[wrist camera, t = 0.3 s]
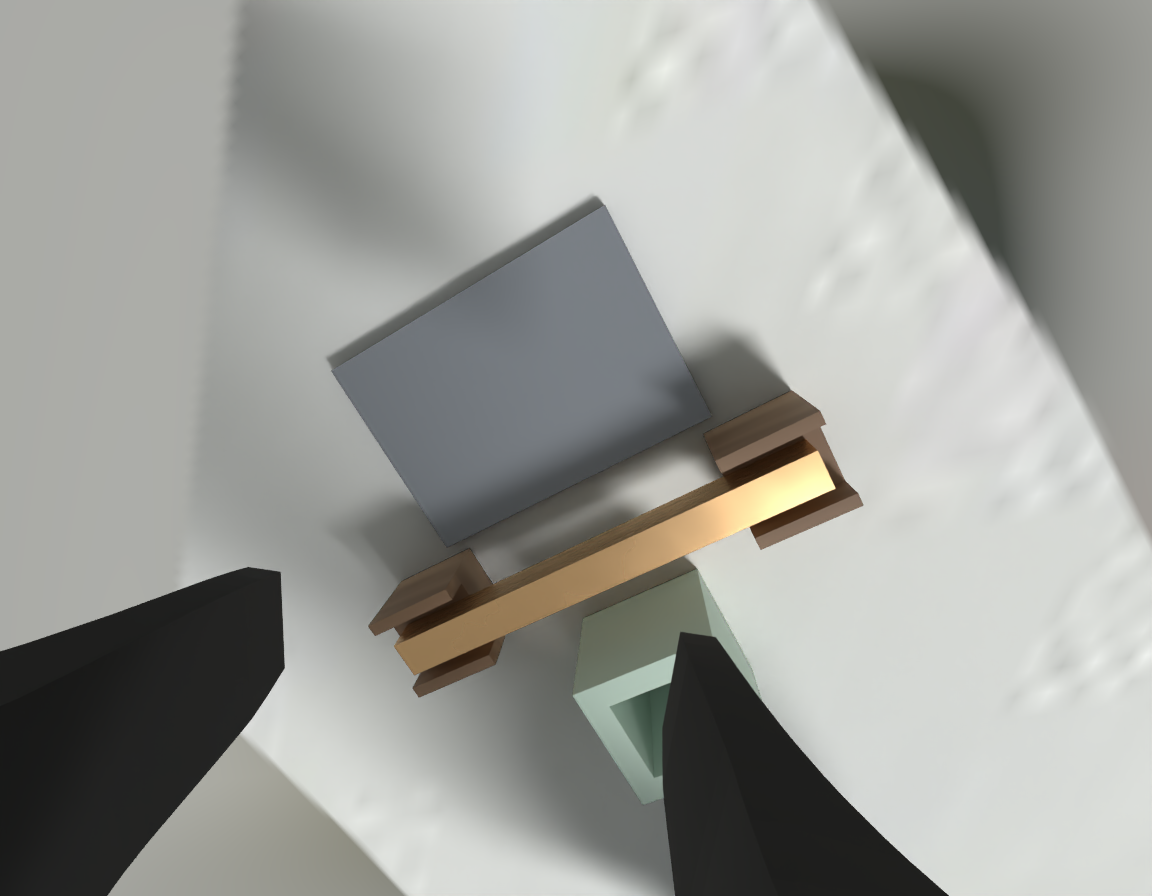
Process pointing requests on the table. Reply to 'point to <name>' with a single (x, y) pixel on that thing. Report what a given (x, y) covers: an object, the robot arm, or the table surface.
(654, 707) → the hollow green cube
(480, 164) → the table surface
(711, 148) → the table surface
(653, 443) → the slate mat
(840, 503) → the bar stand
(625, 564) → the copper bar
